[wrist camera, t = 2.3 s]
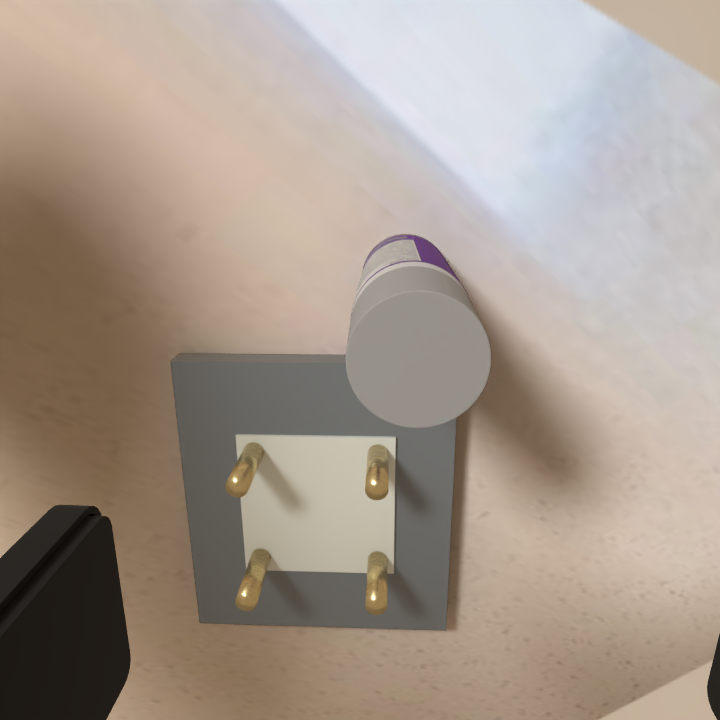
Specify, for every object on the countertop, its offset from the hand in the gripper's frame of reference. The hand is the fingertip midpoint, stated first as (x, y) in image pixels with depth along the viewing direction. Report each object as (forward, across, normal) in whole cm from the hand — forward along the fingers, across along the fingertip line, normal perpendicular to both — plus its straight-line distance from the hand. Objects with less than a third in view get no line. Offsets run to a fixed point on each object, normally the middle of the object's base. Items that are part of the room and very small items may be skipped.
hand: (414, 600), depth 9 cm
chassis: (+25, +4, +13) cm, 28 cm away
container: (+25, 0, -1) cm, 25 cm away
